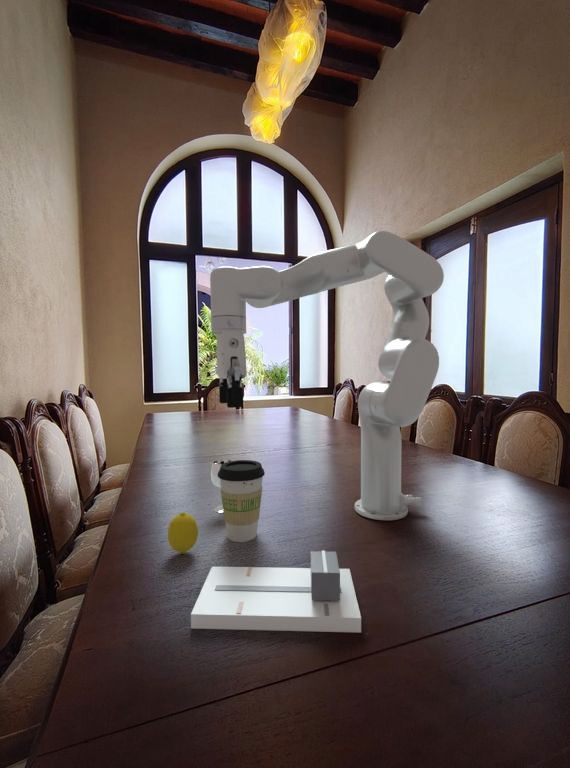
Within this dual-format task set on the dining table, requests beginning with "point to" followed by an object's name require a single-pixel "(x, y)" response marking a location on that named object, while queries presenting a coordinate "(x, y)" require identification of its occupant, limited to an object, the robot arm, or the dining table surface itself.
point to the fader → (325, 576)
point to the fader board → (273, 601)
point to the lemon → (182, 532)
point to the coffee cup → (241, 498)
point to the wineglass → (217, 479)
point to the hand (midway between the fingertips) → (230, 405)
